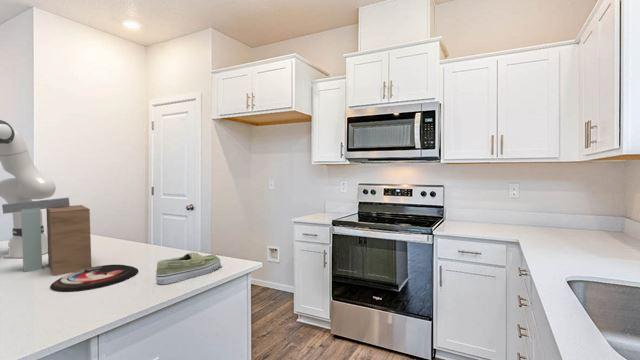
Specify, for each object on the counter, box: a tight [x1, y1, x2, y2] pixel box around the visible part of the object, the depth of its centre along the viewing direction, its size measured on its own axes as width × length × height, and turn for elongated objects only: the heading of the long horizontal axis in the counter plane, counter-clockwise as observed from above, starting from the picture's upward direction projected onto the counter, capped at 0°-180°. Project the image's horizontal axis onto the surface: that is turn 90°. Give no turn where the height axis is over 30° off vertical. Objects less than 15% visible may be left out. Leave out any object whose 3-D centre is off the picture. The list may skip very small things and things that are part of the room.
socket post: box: [21, 208, 43, 273], centre depth 144 cm, size 8×6×26 cm
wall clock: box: [49, 264, 139, 293], centre depth 132 cm, size 27×5×30 cm
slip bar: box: [1, 197, 71, 214], centre depth 145 cm, size 4×22×4 cm, turn 129°
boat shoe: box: [155, 252, 222, 285], centre depth 135 cm, size 10×29×9 cm, turn 150°
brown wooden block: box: [45, 204, 92, 276], centre depth 147 cm, size 22×13×26 cm, turn 43°
